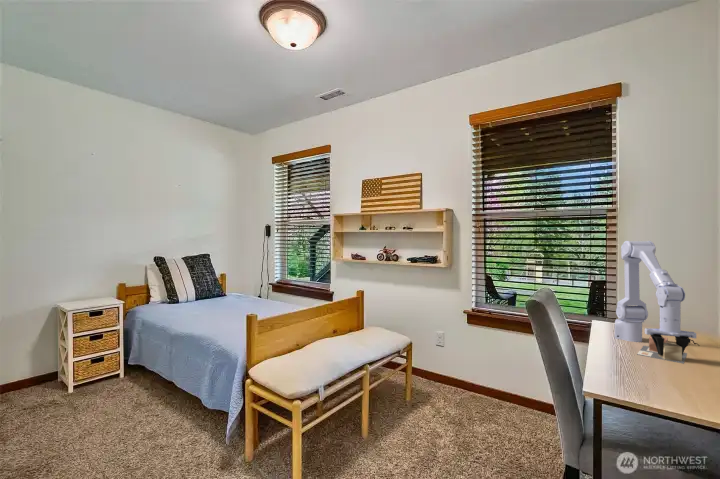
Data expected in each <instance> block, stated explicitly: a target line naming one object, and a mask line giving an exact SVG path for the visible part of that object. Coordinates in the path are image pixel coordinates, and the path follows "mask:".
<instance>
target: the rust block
mask: <svg viewBox="0 0 720 479" xmlns="http://www.w3.org/2000/svg"><path fill="white" fill-rule="evenodd" d="M662 338H664V342H665V343H669V341H668V339H669V338H668V337H665V336H662ZM648 346H649V351H654V352H658V351H657V348H656V345H655V343H654V341H653V339H652V337H651V335H649V338H648Z"/></svg>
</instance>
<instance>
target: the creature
mask: <svg viewBox="0 0 720 479" xmlns="http://www.w3.org/2000/svg"><path fill="white" fill-rule="evenodd" d="M674 340H675V341H676V338H674ZM691 342H692V343H691ZM690 343H691V344H692V345H697V346H698V347H700V345H699V344H698V342H695V341H694V340H693V339H691V341H690Z"/></svg>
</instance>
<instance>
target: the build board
mask: <svg viewBox="0 0 720 479" xmlns="http://www.w3.org/2000/svg"><path fill="white" fill-rule="evenodd" d="M636 355H637V356H642V357H647V358H651V359H657V360H658V359H659V360H663V361H668V362H673V363H678V364H683V365H684V364H685V361H686V358H687V356H688V353H687V352H683V355H682V361H675V360H665V359H663V358H662V357H660V356H659V355H658V352H654V351H649V345H643V346H642V347H641V348H640V350H639V351H638V352H637V354H636Z"/></svg>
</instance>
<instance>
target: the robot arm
mask: <svg viewBox="0 0 720 479" xmlns="http://www.w3.org/2000/svg"><path fill="white" fill-rule="evenodd" d="M656 248H657V247H656V245H655V243H654V242H653V241H651V240H641V241H640V240H625V241H624V242H623V243H622V244H621V247H620V252H621V259H622V260H623V262H624V263H623V267H624V268H623V269H624V271H623V273H624V277H623V278H624V298H621V299H620V300H619V301H617V302H616V309H615V314H616V316H617V318H616V319H615V321H614V339H616V340H623V341H627V342H631V343H642V342H643V323H645V321H646V320H647V319H648V316H649V312H648V309H647V304H646V303H645V302H644V301H643V300H641V299H640V295H641V294H640V263H641V262H643V264H644V265H645V266H646V268H647V269H648V270H649V275H648V277H649V278H650V281H651V282H652V283H653V285H654V287H655V289H656V292H655V297H656V300H657V304H658V306H659V328H652V327H651V328H644V334H645V335H648V336H651V337H652V339H653V341H654V343H655V345H656V348H657V351H658V354H659V355H661V356H663V343H664V338H665V336H666V337H668V336H669V337H675V338H674V339H676V340H675V344H677V345H679V346H681V347H682V355H683V353H685V349H686V348H687V347H688V346H689V344H690V343H691V342H692V341H691V340H692V339H697V333H696V332H694V331H688V330H681V317H682V316H681V315H682V314H681V309H682V307H681V305H682V302H683V301H684V300H685V298H686V292H685V290H684V287H682V286H680V285H679V284H678V283H675V282H674V280H673V278H672V277H671V275H670V274H669V272H668V271H667V270H666V269H663V268H662V267H661V264H660V262H659V261H658V259H657V256H656ZM662 337H664V338H662ZM691 338H692V339H691Z"/></svg>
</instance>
